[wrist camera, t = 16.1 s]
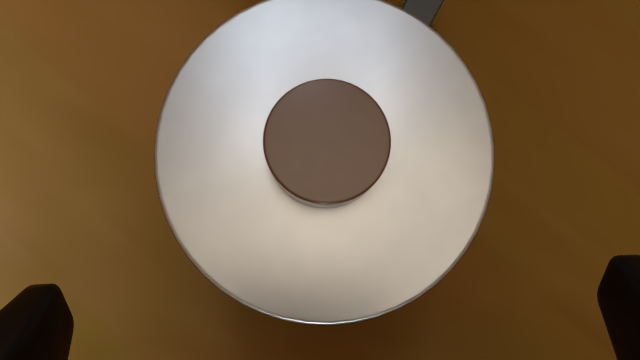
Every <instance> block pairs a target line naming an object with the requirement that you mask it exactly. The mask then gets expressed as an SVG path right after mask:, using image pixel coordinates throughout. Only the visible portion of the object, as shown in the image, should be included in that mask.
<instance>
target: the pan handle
mask: <svg viewBox="0 0 640 360" xmlns="http://www.w3.org/2000/svg"><path fill="white" fill-rule="evenodd" d="M443 1H444V0H406V1H405V3H404V5H403V7H402V9H404V10H406V11H407V12H409V13H411V14H412V15H414V16H416V17H417V18H419V19H421V20H422V21H423V22H425V23H426V24H427V25H428V26H430V25H431V23H432V21H433V20H434V18H435V16H436V14H437V12H438V10H439V9H440V7H441V5H442V3H443Z"/></svg>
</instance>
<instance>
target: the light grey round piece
mask: <svg viewBox="0 0 640 360" xmlns="http://www.w3.org/2000/svg"><path fill="white" fill-rule="evenodd" d="M154 165H155V179H156V184H157V189H158V195H159V199H160V202H161V205H162V208H163V211H164V214H165V217H166V220H167V222H168V224H169V226H170V228H171V230H172V232H173V234H174V237H175V239H176V241H177V242H178V243H179V245H180V246H181V248H182V249H183V251H184V252H185V254H186V255H187V257H188V258H189V260H190V261H191V262H192V263H193V264H194V265H195V266H196V268H197V269H198V270H199V271H200V272H201V273H202V274H203V275H204V277H206V278H207V279H208V280H209V281H210V282H211V283H213V284H214V285H215V286H216V287H217V288H218V289H220V290H221V291H222V292H224V293H225V294H227V295H228V296H230V297H231V298H233V299H234V300H236V301H237V302H239V303H241V304H242V305H245V306H247V307H249V308H251V309H253V310H255V311H257V312H259V313H262V314H264V315H268V316H271V317H274V318H277V319H280V320H283V321H289V322H294V323H300V324H306V325H328V326H331V325H341V324H352V323H357V322H361V321H365V320H370V319H374V318H377V317H380V316H382V315H385V314H388V313H390V312H393V311H396V310H398V309H400V308H402V307H403V306H405V305H407V304H409V303H411V302H413V301H414V300H416V299H418V298H419V297H421V296H422V295H423V294H425V293H426V292H427V291H429V290H430V289H431V288H433V287H434V286H435V285H437V284H438V283H439V282H440V281H441V280H442V279H443V278H444V277H445V276H446V275H447V274H448V273H449V272H450V271H451V270H452V269H453V268H454V266H455V265H456V264H457V263H458V261H459V260H460V259H461V257H462V256H463V255H464V254H465V252H466V251H467V249H468V247H469V246H470V244H471V242H472V241H473V239H474V237H475V235H476V234H477V232H478V229H479V227H480V225H481V222H482V220H483V218H484V215H485V213H486V209H487V206H488V202H489V198H490V195H491V191H492V183H493V176H494V141H493V134H492V126H491V122H490V119H489V115H488V111H487V108H486V104H485V102H484V99H483V97H482V95H481V92H480V90H479V87H478V85H477V83H476V81H475V80H474V78H473V76H472V74H471V73H470V71H469V69H468V68H467V66H466V64H465V63H464V62H463V61H462V59H461V58H460V57H459V55H458V54H457V53H456V51H455V50H454V49H453V48H452V47H451V46H450V45H449V44H448V43H447V42H446V41H445V40H444V39H443V38H442V36H441V35H440V34H439V33H437V32H436V31H435V30H434V29H432V28H431V27H430V26H428V25H427V24H426V23H425V22H423V21H422V20H421V19H419V18H417V17H416V16H414V15H412V14H411V13H409V12H407V11H406V10H404V9H402V8H400V7H398V6H395V5H393V4H391V3H389V2H386V1H384V0H264V1H261V2H258V3H256V4H254V5H252V6H250V7H248V8H246V9H244V10H242V11H240V12H238V13H236V14H235V15H233V16H232V17H230V18H229V19H227V20H226V21H224V22H223V23H221V24H220V25H219V26H218V27H216V28H215V29H214V30H213V31H212V32H211V33H209V34H208V35H207V36H206V37H205V38H204V39H203V40H202V41H201V42H200V43H199V44H198V45H197V47H196V48H195V49H194V50H193V51H192V52H191V53H190V54H189V56H188V57H187V59H186V60H185V62H184V63H183V65H182V66H181V67H180V69H179V70H178V72H177V74H176V76H175V78H174V80H173V82H172V83H171V85H170V87H169V89H168V91H167V94H166V97H165V100H164V102H163V105H162V108H161V111H160V115H159V120H158V124H157V129H156V135H155V148H154Z"/></svg>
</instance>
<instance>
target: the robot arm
mask: <svg viewBox="0 0 640 360" xmlns="http://www.w3.org/2000/svg"><path fill="white" fill-rule="evenodd" d="M597 298H598V303H599V307H600V310H601V313H602V316H603V319H604V321H605V324H606V327H607V330H608V333H609V336H610V339H611V342H612V345H613V348H614V351H615V354H616V357H617V360H640V255H618V256H614V257H613V258H612V259H610V261H609V263H608V266H607V268H606V270H605V273H604V275H603V278H602V280H601V282H600V285H599V287H598V292H597ZM73 328H74V322H73V316H72V314H71V311H70V309H69V307H68V305H67V303H66V300H65V298H64V296H63V294H62V291H61V289H60V288H59V287H58V286H57V285H56V284H36V285H30V286H28V287H27V288H25V289H24V290H23V291H22V292H21V293H19V294H18V295H17V296H16V297H15V298H14V299H13V300H11V301H10V302H9V303H8V304H7V305H6V306H5V307H4V308H2V309H1V310H0V360H68V356H69V350H70V345H71V340H72V335H73Z"/></svg>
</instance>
